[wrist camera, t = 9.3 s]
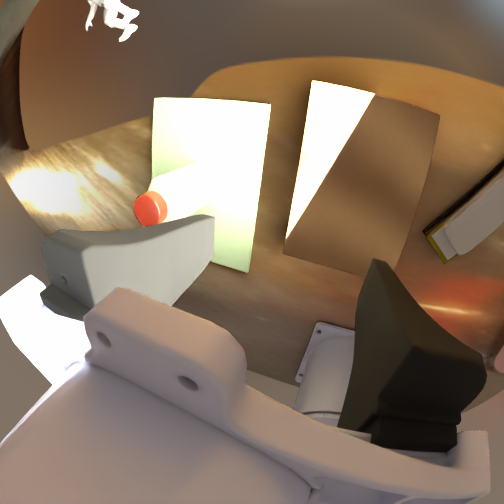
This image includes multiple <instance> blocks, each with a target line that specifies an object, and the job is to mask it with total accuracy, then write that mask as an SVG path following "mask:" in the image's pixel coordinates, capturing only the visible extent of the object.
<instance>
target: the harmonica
mask: <svg viewBox="0 0 504 504" xmlns="http://www.w3.org/2000/svg"><path fill="white" fill-rule="evenodd" d="M502 223H504V159H503V160H502V161H501V162H500V163H499V164H498V165H497V166H496V167H495V168H494V169H493V170H492V171H491V172H490V173H489V174H488V175H487V176H485V177H484V178H483V179H482V180H481V181H480V182H479V183H478V184H477V185H476V186H475V187H473V188H472V189H471V190H470V191H469V192H468V193H467V194H465V195H464V196H463V197H462V198H461V199H460V200H459V201H457V202H456V203H455V204H454V205H453V206H452V207H450V208H449V209H448V210H447V211H446V212H444V213H443V214H442V215H441V216H440V217H439V218H437V219H436V220H435V221H434V222H432V223H431V224H430V225H429V226H427V227H426V228H425V229H424V230H423V233H424V234H425V236H426V238H427V239H428V241H429V242H430V244H431V245H432V247H433V248H434V250H435V251H436V253H437V254H438V256H439V257H440V259H441V260H442V262H443V263H444V264H445V263H447V262H448V261H450V260H451V259H453V258H454V257H455V256H457V255H458V254H459V255H463V254H465V253H467V252H468V251H470V250H471V249H473V248H474V247H475V246H477V245H478V244H479V243H480V242H482V241H483V240H484V239H485V238H486V237H487V236H489V235H490V234H491V233H492V232H493V231H494V230H496V229H497V228H498V227H499V226H500V225H501V224H502Z"/></svg>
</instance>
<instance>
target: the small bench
mask: <svg viewBox="0 0 504 504" xmlns="http://www.w3.org/2000/svg"><path fill="white" fill-rule="evenodd" d="M439 120H440V115H438V114H436V113H433V112H430V111H428V110H425V109H422V108H419V107H417V106H414V105H411V104H408V103H405V102H401V101H398V100H395V99H392V98H388V97H385V96H381V95H378V94H374V93H370V92H366V91H362V90H358V89H354V88H350V87H345V86H341V85H336V84H331V83H325V82H320V81H314V80H312V83H311V90H310V97H309V104H308V111H307V117H306V124H305V130H304V136H303V143H302V149H301V155H300V161H299V167H298V173H297V178H296V184H295V190H294V195H293V201H292V207H291V212H290V218H289V223H288V228H287V234H286V239H285V244H284V249H283V254H285V255H289V256H292V257H296V258H299V259H303V260H306V261H310V262H313V263H317V264H320V265H324V266H327V267H331V268H334V269H338V270H342V271H345V272H349V273H352V274H356V275H359V276H363V277H366V275H367V273H368V270H369V267H370V264H371V261H372V259H373V258H375V259H379V260H382V261H386V262H387V263H388V265H389V266H390V267H391V269H392V270H393V271H394V270H395V267H396V265H397V262H398V260H399V257H400V255H401V252H402V250H403V247H404V244H405V242H406V239H407V236H408V233H409V231H410V228H411V225H412V222H413V219H414V216H415V213H416V210H417V207H418V204H419V200H420V197H421V194H422V190H423V187H424V184H425V180H426V176H427V173H428V169H429V165H430V161H431V157H432V153H433V148H434V144H435V140H436V135H437V130H438V125H439Z"/></svg>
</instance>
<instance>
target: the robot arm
mask: <svg viewBox="0 0 504 504" xmlns="http://www.w3.org/2000/svg"><path fill="white" fill-rule="evenodd" d="M214 232H215V217H214V216H210V215H205V214H199V215H193V216H189V217H184V218H180V219H176V220H172V221H168V222H164V223H160V224H155V225H151V226H146V227H141V228H134V229H127V230H114V231H78V230H67V229H61V230H58V231H57V232H55V233H53V234H51V235H50V236H48V237H46V238H45V239H44V241H43V244H42V255H43V260H44V263H45V267H46V270H47V273H48V276H49V279H50V283H51V285H49V286H48V287H47V288H46V287H45V285H44V284H43V283H42V282H41V281H40V280H38V279H37V278H35V277H34V276H33V275H29V276H28V277H26V278H25V279H23V280H22V281H21V282H19V283H18V284H17V285H15V286H14V287H13V288H11V289H10V290H8V291H7V292H6V293H5V294H3V295H2V296H1V297H0V318H1V320H2V321H3V323H4V325H5V327H6V329H7V331H8V332H9V335H10V336H11V338H12V340H13V342H14V343H15V344H16V346H17V347H18V348H19V349H20V350H21V351H22V352H23V353H24V354H25V356H27V358H28V359H29V360H30V361H31V362H32V363H33V364H34V365H35V366H36V367H37V369H38V370H39V371H40V372H41V373H42V374H43V375H44V376H45V377H46V378H47V379H48V380H49V381H50V382H51V383H52V384H53V385H52V386H51V387H50V388H49V390H48V391H47V392H46V393H45V394H44V395H43V396H42V397H41V398H40V399H39V400H38V402H36V404H35V405H34V406H33V407H32V408H31V409H30V410H29V411H28V412H27V413H26V414H25V416H24V417H23V418H22V419H21V420H20V421H19V422H18V423H17V425H16V426H15V427H14V428H13V429H12V430H11V431H10V433H9V434H8V435H7V436H6V437H5V438H4V440H3V441H2V442H1V443H0V504H468V503H470V502H473V501H475V500H477V499H479V498H481V497H483V496H485V495H487V494H488V493H489V492H490V456H489V442H488V432H487V431H470V430H467V431H462V432H459V433H457V428H456V425H458V424H459V423H460V422H461V413H460V412H462V411H463V410H464V409H465V408H466V407H467V406H468V405H469V404H470V403H471V402H472V401H473V400H474V399H475V398H476V397H477V396H478V394H479V393H480V392H481V391H482V389H483V387H484V385H485V383H486V379H487V373H486V369H485V365H484V361H483V358H482V355H481V354H480V353H478V352H476V351H475V350H473V349H471V348H470V347H468V346H466V345H465V344H463V343H462V342H460V341H459V340H458V339H456V338H455V337H453V336H452V335H451V334H449V333H448V332H447V331H446V330H444V329H443V328H442V327H441V326H440V325H439V324H438V323H436V322H435V321H434V320H433V319H432V318H431V317H430V316H429V315H428V314H427V313H426V312H425V311H424V310H423V309H422V308H421V307H420V306H419V304H418V303H417V302H416V301H415V300H414V298H413V297H412V296H411V295H410V293H409V292H408V291H407V290H406V288H405V287H404V286H403V284H402V283H401V281H400V280H399V279H398V277H397V276H396V274H395V273H394V271H393V270H392V269H391V267H390V266H389V265H388V263H387V262H386V261H382V260H379V259H375V258H373V259H372V261H371V264H370V267H369V270H368V273H367V275H366V278H365V281H364V283H363V286H362V289H361V291H360V294H359V297H358V303H357V309H356V317H355V331H352V330H349V329H345V328H341V327H338V326H334V325H331V324H327V323H324V322H318V323H317V324H316V326H315V328H314V331H313V334H312V336H311V339H310V342H309V344H308V347H307V349H306V352H305V355H304V357H303V360H302V362H301V365H300V367H299V370H298V372H297V375H296V377H295V380H296V381H297V382H299V383H301V384H300V387H299V391H298V394H297V397H296V400H295V403H294V406H293V409H291V408H289V407H288V406H285V405H283V404H282V403H280V402H278V401H276V400H274V399H272V398H270V397H268V396H267V395H265V394H263V393H261V392H259V391H257V390H256V389H254V388H252V387H250V386H248V385H247V384H246V381H245V377H246V370H247V360H246V356H245V352H244V349H243V347H242V346H241V345H240V344H239V343H238V342H237V341H236V339H235V338H234V337H233V336H232V335H231V334H230V333H229V332H228V331H226V330H225V329H223V328H221V327H219V326H218V325H216V324H214V323H212V322H211V321H208V320H205V319H203V318H200V317H197V316H195V315H192V314H190V313H187V312H184V311H182V310H179V309H177V308H174V307H172V305H173V304H174V303H175V301H176V300H177V299H178V298H179V297H180V296H181V295H182V293H183V292H184V291H185V290H186V289H187V288H188V287H189V286H190V285H191V284H192V283H193V282H194V280H195V279H196V278H197V277H198V276H199V275H200V274H201V273H202V272H203V270H204V269H205V268H206V266H207V265H208V263H209V262H210V260H211V258H212V257H213V255H214ZM318 330H320V331H318Z"/></svg>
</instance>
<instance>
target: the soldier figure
mask: <svg viewBox="0 0 504 504" xmlns="http://www.w3.org/2000/svg"><path fill="white" fill-rule="evenodd" d="M87 1H88V2H89V4H90V6H91V8H90V13H89V15H88V19H87V22H86V24H85V28H86V31H88V26H89V25H91V26H92V23H91V20H92V19H93V18H94V16H95V13H96V11H97V8H98V5H99V6H101V7H105V10H104V12H103V15H104V23H105V24H106V25H108V26H110V27H111V28H113V27H117V28H120V29H123V30H124V33H123V35H122V36H121V37H120V38H119V42H121V41H124V40H126V39H127V38H128V37H129V36H130V34H131V33H132V32H134V31H135V30H136V29H137V26H136V25H134V24H130V23H129V22H130V20H131V19H132V18H135V17H136V16H137V15H138V13H139V12H138V11H137V10H132V9H130V8H128V7H126V6H125V5H123V4H122V3H120V0H87ZM117 12H120V13H122V14H124V15H125V16H124V18H123V19H122V20H121V19H119V18H116V16H117Z"/></svg>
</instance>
